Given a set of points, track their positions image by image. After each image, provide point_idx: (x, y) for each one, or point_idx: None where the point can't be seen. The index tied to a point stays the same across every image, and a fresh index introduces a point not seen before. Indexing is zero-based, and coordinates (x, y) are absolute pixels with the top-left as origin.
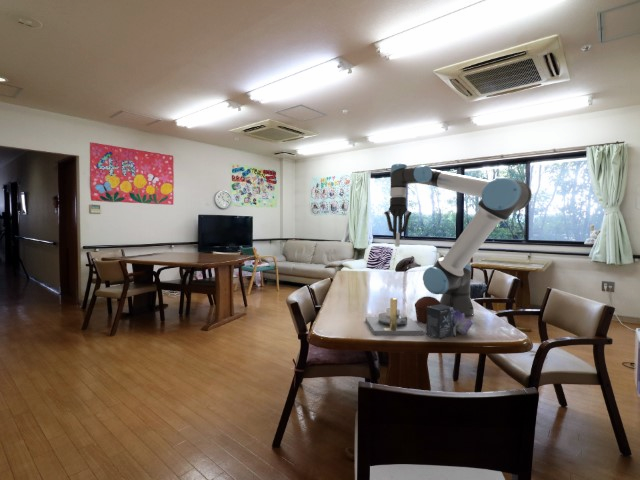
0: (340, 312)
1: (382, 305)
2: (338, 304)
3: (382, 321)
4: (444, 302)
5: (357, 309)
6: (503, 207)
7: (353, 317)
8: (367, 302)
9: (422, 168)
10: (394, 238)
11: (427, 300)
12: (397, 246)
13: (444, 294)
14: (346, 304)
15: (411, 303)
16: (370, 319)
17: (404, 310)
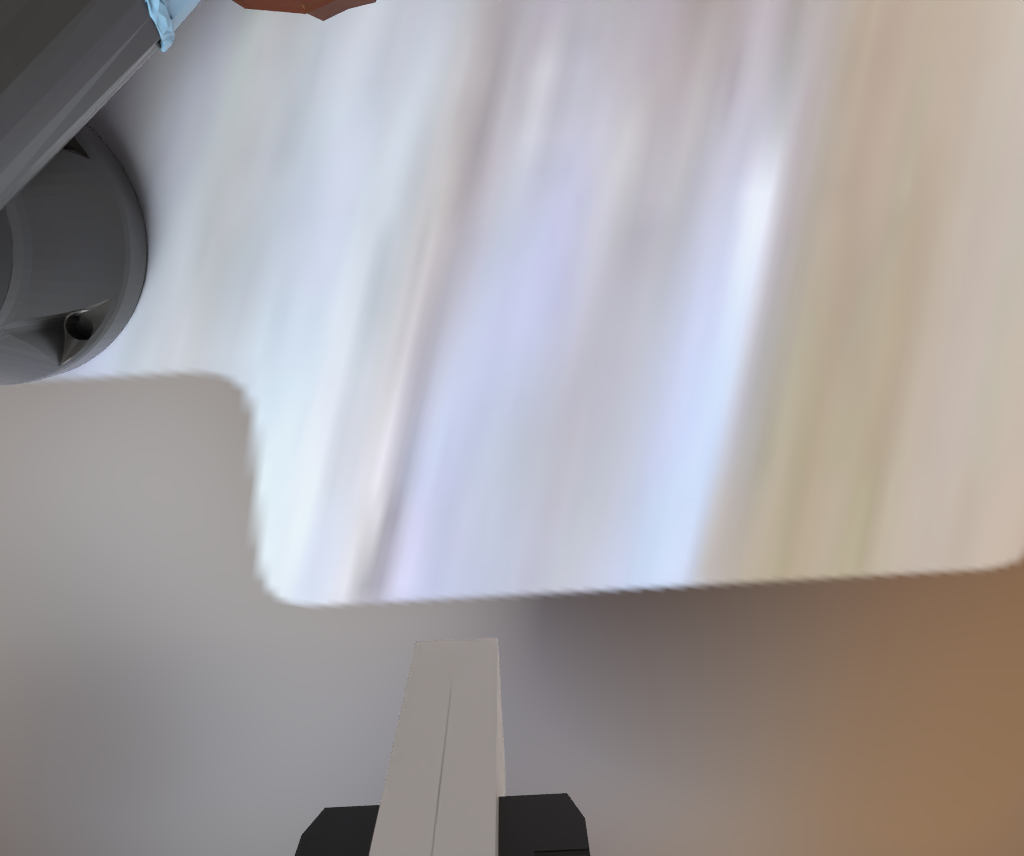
0: (1012, 176)
1: (597, 431)
2: (977, 445)
3: None
4: (61, 176)
5: (845, 284)
6: None
7: (932, 16)
8: (708, 528)
9: None
10: (559, 812)
11: None
12: (466, 641)
13: (11, 206)
14: (907, 449)
15: (324, 514)
16: None
17: (441, 270)
